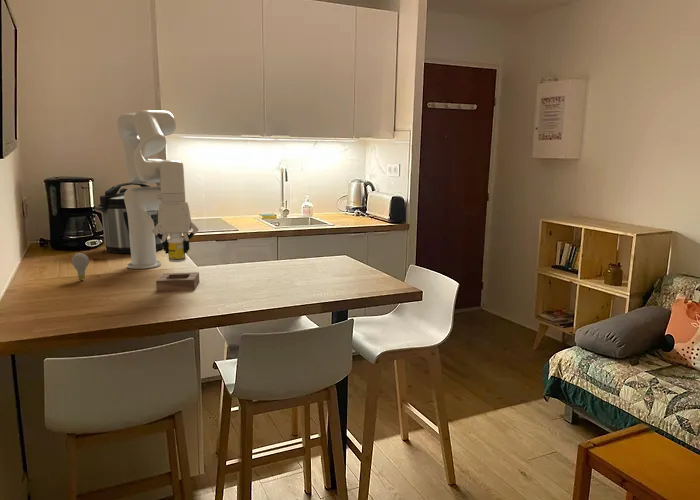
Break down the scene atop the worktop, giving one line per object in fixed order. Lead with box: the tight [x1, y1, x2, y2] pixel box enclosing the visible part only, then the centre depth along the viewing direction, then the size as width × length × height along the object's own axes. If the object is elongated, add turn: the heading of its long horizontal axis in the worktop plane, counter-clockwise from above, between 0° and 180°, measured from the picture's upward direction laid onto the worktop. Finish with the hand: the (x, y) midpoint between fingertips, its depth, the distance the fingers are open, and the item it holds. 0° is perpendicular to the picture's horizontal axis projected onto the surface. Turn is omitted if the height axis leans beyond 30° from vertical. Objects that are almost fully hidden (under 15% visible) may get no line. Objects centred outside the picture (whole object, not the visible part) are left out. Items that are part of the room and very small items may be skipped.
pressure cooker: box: [94, 182, 163, 254], centre depth 259 cm, size 30×28×32 cm
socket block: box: [155, 271, 200, 293], centre depth 187 cm, size 12×12×4 cm
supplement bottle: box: [167, 233, 186, 263], centre depth 184 cm, size 5×5×10 cm
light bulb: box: [71, 252, 90, 281], centre depth 196 cm, size 6×5×10 cm
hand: (176, 252), depth 185 cm, fingers closed on supplement bottle, 5 cm apart
